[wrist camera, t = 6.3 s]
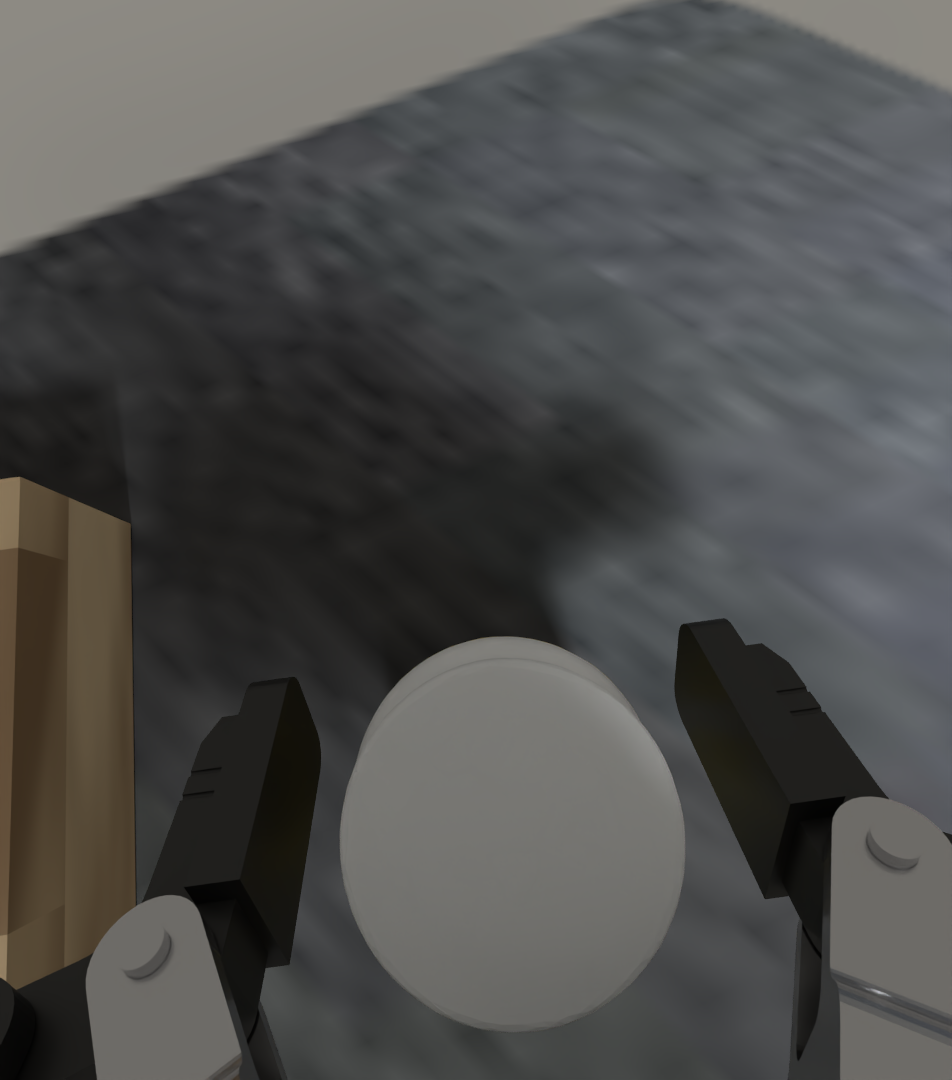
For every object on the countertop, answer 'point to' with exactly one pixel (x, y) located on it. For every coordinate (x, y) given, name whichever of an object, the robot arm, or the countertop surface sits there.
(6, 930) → the oak base
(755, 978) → the countertop surface
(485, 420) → the countertop surface
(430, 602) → the countertop surface
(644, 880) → the supplement bottle
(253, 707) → the robot arm
